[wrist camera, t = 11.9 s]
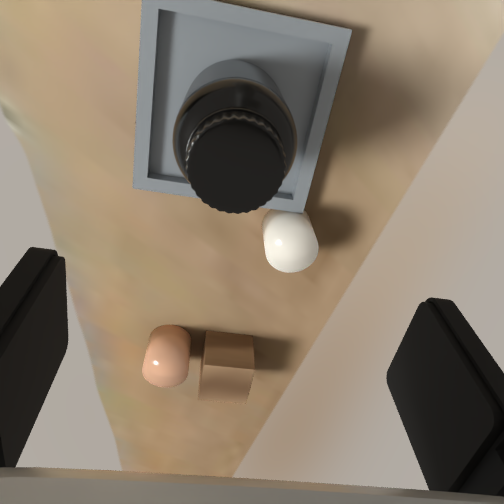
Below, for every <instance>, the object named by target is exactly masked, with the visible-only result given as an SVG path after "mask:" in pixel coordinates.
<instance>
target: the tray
mask: <svg viewBox="0 0 504 504" xmlns="http://www.w3.org/2000/svg"><path fill="white" fill-rule="evenodd" d="M351 33H352V30H351V29H348V28H345V27H340V26H335V25H330V24H326V23H321V22H316V21H311V20H307V19H302V18H297V17H292V16H288V15H283V14H278V13H273V12H268V11H264V10H259V9H254V8H249V7H245V6H240V5H235V4H230V3H225V2H221V1H216V0H142V9H141V29H140V49H139V70H138V90H137V110H136V130H135V150H134V170H133V188H134V189H140V190H147V191H154V192H161V193H167V194H174V195H181V196H188V197H194V198H199V197H198V196H196V193H195V191H194V190H193V189H192V188H191V184H190V183H189V182H188V181H187V180H186V179H185V177H184V176H183V174H182V173H181V171H180V169H179V167H178V165H177V162H176V160H175V156H174V152H173V143H172V138H173V129H174V124H175V120H176V117H177V115H178V112H179V110H180V108H181V105H182V103H183V101H184V98H185V96H186V94H187V92H188V89H189V87H190V86H191V84H192V82H193V81H194V79H195V78H196V77H197V76H198V75H199V73H201V72H202V71H203V70H204V69H206V68H207V67H208V66H210V65H212V64H214V63H217V62H220V61H223V60H231V59H236V60H243V61H247V62H250V63H253V64H255V65H257V66H258V67H260V68H261V69H263V70H264V71H265V72H266V73H267V74H269V76H270V77H271V78H272V79H273V80H274V82H275V83H276V85H277V87H278V88H279V90H280V92H281V94H282V96H283V98H284V100H285V102H286V104H287V106H288V108H289V110H290V112H291V114H292V116H293V119H294V122H295V126H296V131H297V152H296V156H295V160H294V163H293V165H292V168H291V170H290V171H289V173H288V175H287V176H286V178H285V179H284V180H283V182H282V185H281V187H280V188H279V189H278V193H277V194H275V195H274V196H273V198H272V200H270V201H268V202H267V203H266V204H265V205H264V206H260V207H262V208H269V209H275V210H282V211H289V212H296V213H302V214H303V211H304V208H305V204H306V200H307V196H308V193H309V189H310V185H311V182H312V178H313V174H314V170H315V167H316V163H317V159H318V156H319V152H320V148H321V145H322V141H323V137H324V133H325V130H326V126H327V122H328V119H329V115H330V111H331V107H332V104H333V100H334V96H335V93H336V89H337V85H338V81H339V78H340V74H341V70H342V67H343V63H344V59H345V56H346V52H347V48H348V44H349V41H350V37H351Z"/></svg>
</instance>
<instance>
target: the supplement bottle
mask: <svg viewBox="0 0 504 504" xmlns="http://www.w3.org/2000/svg"><path fill="white" fill-rule="evenodd" d="M172 143H173V152H174V156H175V160H176V162H177V165H178V167H179V169H180V171H181V173H182V174H183V176H184V177H185V179H186V180H187V181H188V182H189V183H190V184H191V188H192V189H193V190H194V191H195V193H196V196H198V197H199V198H201V199H202V201H203V202H204V203H206V204H208V205H209V206H210V207H211V208H216V209H217V210H219V211H225V212H227V213H233V212H234V213H237V214H239V213H242V212H245V213H248V212H249V211H251V210H257V209H258V208H259V207H260V206H264V205H265V204H266V203H267V202H268V201H270V200H272V198H273V196H274V195H275V194H277V193H278V189H279V188H280V187H281V185H282V182H283V180H284V179H285V178H286V176H287V175H288V173H289V171H290V170H291V168H292V165H293V163H294V160H295V156H296V152H297V131H296V126H295V122H294V119H293V116H292V114H291V112H290V110H289V108H288V106H287V104H286V102H285V100H284V98H283V96H282V94H281V92H280V90H279V88H278V87H277V85H276V83H275V82H274V80H273V79H272V78H271V77H270V76H269V74H267V73H266V72H265V71H264V70H263V69H261V68H260V67H258V66H257V65H255V64H253V63H250V62H247V61H243V60H236V59H231V60H223V61H220V62H217V63H214V64H212V65H210V66H208V67H207V68H206V69H204V70H203V71H202V72H201V73H199V75H198V76H197V77H196V78H195V79H194V81H193V82H192V84H191V86H190V87H189V89H188V92H187V94H186V96H185V98H184V101H183V103H182V105H181V108H180V110H179V112H178V115H177V117H176V120H175V124H174V129H173V138H172Z"/></svg>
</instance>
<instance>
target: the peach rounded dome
mask: <svg viewBox="0 0 504 504" xmlns="http://www.w3.org/2000/svg"><path fill="white" fill-rule="evenodd" d="M190 349H191V337H190V335H189V333H188V332H187V331H186V330H185V329H183V328H181V327H179V326H176V325H163V326H160V327H158V328H156V329H154V330H153V331H152V333H151V334H150V337H149V342H148V346H147V351H146V355H145V360H144V364H143V369H142V372H143V376H144V377H145V379H146V380H147V381H148V382H150V383H151V384H153V385H155V386H159V387H174V386H177V385H179V384H181V383H182V382H184V381H185V379H186V378H187V376H188V368H189V359H190Z"/></svg>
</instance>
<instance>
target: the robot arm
mask: <svg viewBox="0 0 504 504" xmlns="http://www.w3.org/2000/svg"><path fill="white" fill-rule="evenodd" d="M66 294H67V293H66V268H65V259H64V257H60V256H58V254H57V251H56V250H51V249H44V248H36V247H30V248H29V249H28V250H27V252H26V253H25V254H24V256H23V257H22V258H21V260H20V261H19V262H18V264H17V265H16V266H15V268H14V269H13V270H12V272H11V273H10V274H9V276H8V277H7V278H6V280H5V281H4V283H3V284H2V285H1V287H0V504H504V373H503V371H502V370H501V369H500V367H499V366H498V364H497V363H496V362H495V361H494V359H493V357H492V356H491V354H490V353H489V352H488V350H487V349H486V347H485V346H484V345H483V343H482V342H481V340H480V339H479V338H478V336H477V335H476V334H475V332H474V330H473V329H472V327H471V326H470V325H469V323H468V322H467V320H466V319H465V318H464V316H463V315H462V313H461V312H460V311H459V309H458V308H457V306H456V305H455V303H454V302H453V301H451V300H447V299H439V298H428V299H427V300H426V301H425V302H422V303H420V304H419V306H418V308H417V310H416V312H415V314H414V316H413V319H412V321H411V323H410V325H409V327H408V329H407V331H406V333H405V335H404V337H403V340H402V342H401V344H400V346H399V348H398V350H397V352H396V354H395V356H394V358H393V360H392V363H391V365H390V367H389V369H388V371H387V384H388V387H389V389H390V392H391V394H392V397H393V400H394V402H395V405H396V407H397V410H398V412H399V415H400V417H401V420H402V422H403V425H404V427H405V430H406V432H407V435H408V437H409V440H410V443H411V445H412V447H413V450H414V453H415V455H416V458H417V460H418V463H419V465H420V467H421V470H422V473H423V475H424V478H425V480H426V483H427V485H428V488H429V491H428V490H415V489H399V488H386V487H385V488H384V487H371V486H357V485H341V484H326V483H311V482H296V481H295V482H294V481H279V480H262V479H248V478H232V477H215V476H198V475H181V474H164V473H147V472H129V471H111V470H86V469H63V468H40V467H39V468H38V467H28V468H27V467H26V468H25V467H17V468H16V464H17V462H18V460H19V458H20V455H21V453H22V450H23V448H24V446H25V444H26V441H27V439H28V437H29V435H30V433H31V430H32V428H33V426H34V423H35V421H36V419H37V417H38V414H39V412H40V410H41V407H42V405H43V403H44V401H45V398H46V396H47V394H48V391H49V389H50V387H51V384H52V382H53V380H54V378H55V376H56V373H57V371H58V369H59V366H60V364H61V362H62V360H63V357H64V355H65V353H66V349H67V345H68V319H67V296H66Z"/></svg>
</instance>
